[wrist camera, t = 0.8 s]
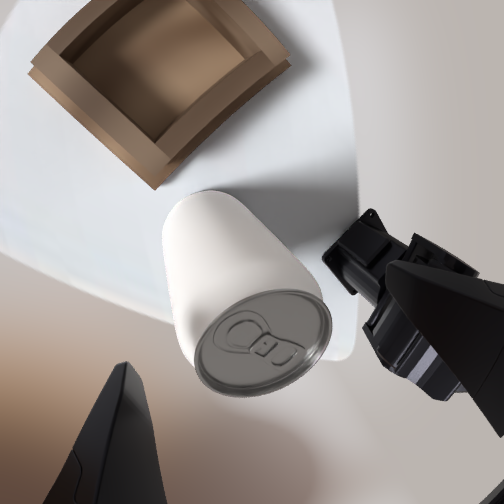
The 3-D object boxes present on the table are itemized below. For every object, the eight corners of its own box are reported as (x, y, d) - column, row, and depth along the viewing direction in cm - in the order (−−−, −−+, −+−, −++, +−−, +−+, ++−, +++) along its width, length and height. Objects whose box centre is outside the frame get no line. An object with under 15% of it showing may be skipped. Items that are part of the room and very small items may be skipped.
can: (202, 169, 19) (271, 242, 9) (267, 224, 22) (365, 323, 12) (143, 242, 20) (147, 377, 10) (211, 287, 23) (265, 414, 13)
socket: (285, 67, 17) (314, 59, 14) (154, 187, 18) (155, 204, 15) (172, -44, 11) (179, -73, 8) (33, 75, 12) (7, 68, 9)
